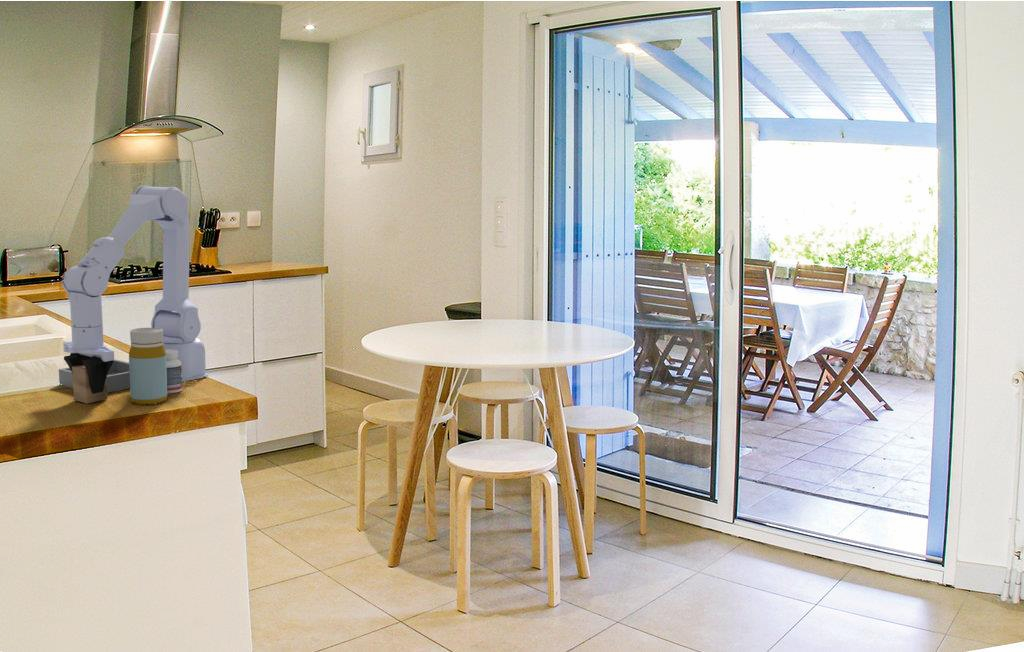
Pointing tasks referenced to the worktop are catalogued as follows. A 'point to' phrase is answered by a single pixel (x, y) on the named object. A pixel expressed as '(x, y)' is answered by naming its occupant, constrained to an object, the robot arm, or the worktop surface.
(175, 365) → the pill bottle
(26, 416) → the worktop surface
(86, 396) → the walnut block
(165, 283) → the robot arm
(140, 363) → the bottle
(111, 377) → the bin
